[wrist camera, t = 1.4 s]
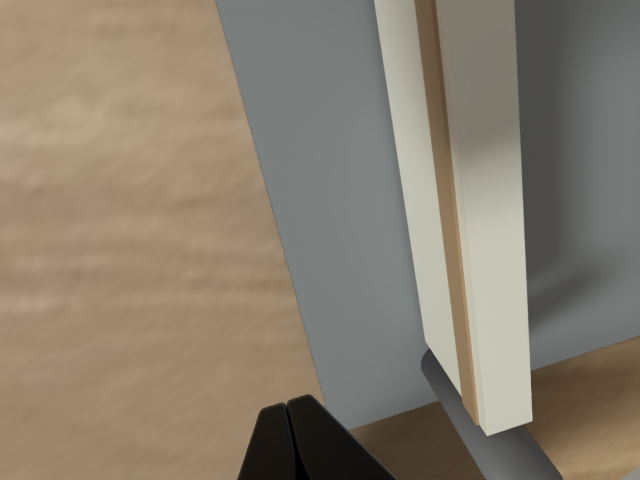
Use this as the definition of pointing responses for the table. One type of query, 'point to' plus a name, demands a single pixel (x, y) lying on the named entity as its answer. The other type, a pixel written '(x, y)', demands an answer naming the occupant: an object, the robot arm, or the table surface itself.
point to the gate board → (389, 208)
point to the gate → (464, 192)
